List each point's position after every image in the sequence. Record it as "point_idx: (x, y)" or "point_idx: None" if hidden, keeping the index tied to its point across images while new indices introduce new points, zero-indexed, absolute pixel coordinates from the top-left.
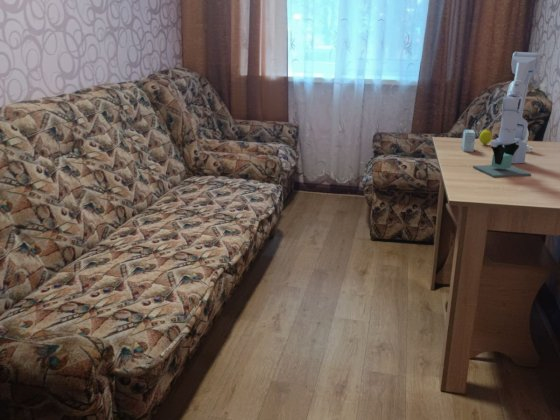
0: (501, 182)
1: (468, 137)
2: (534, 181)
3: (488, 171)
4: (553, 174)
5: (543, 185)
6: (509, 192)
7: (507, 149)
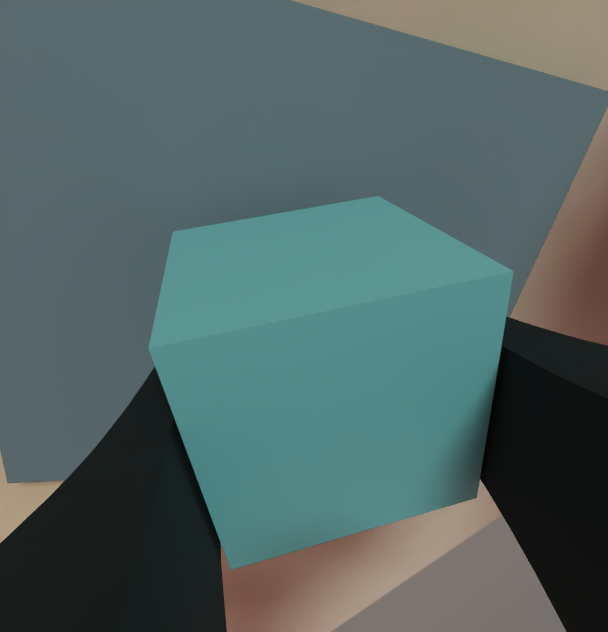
0: None
1: None
2: (321, 552)
3: (32, 338)
4: None
5: (301, 609)
6: None
7: (576, 475)
